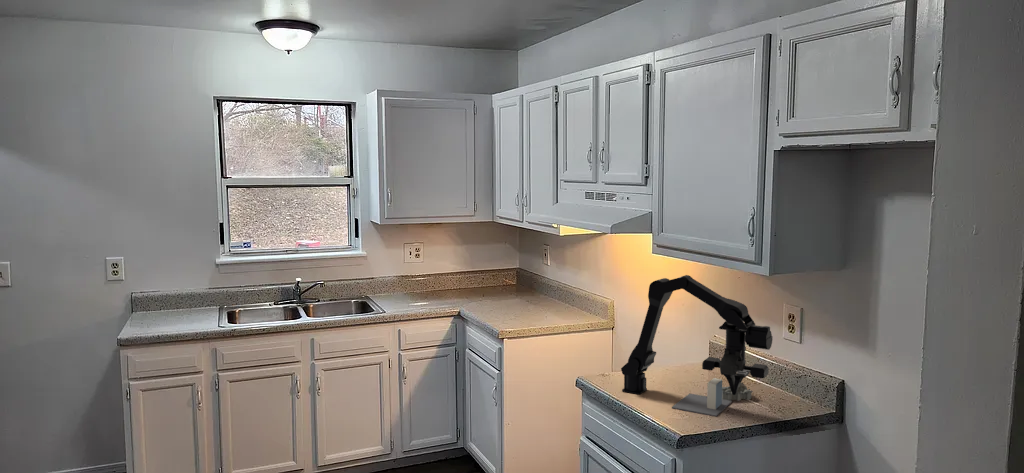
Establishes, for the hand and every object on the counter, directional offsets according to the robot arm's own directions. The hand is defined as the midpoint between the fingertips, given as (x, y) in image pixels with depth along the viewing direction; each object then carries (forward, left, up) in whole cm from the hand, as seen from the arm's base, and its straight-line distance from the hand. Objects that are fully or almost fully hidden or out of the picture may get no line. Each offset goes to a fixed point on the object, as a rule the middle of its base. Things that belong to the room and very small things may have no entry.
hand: (734, 394), depth 218 cm
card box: (-6, 0, -5) cm, 8 cm away
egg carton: (-4, +13, -6) cm, 15 cm away
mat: (-10, 0, -5) cm, 11 cm away
